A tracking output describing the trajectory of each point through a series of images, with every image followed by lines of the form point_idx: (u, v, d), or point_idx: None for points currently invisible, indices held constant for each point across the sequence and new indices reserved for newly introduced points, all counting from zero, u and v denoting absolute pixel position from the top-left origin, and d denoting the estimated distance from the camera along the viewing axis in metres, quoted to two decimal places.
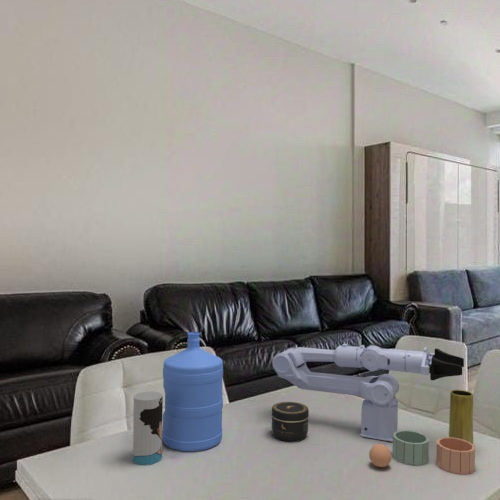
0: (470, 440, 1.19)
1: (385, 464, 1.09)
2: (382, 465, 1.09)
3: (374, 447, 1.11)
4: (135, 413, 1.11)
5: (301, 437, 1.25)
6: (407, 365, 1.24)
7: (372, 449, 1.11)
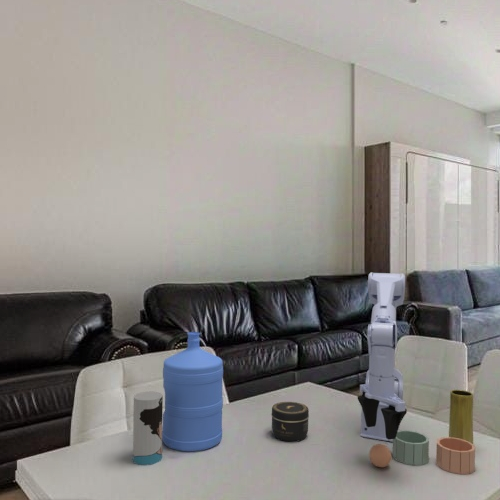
0: (470, 440, 1.19)
1: (385, 464, 1.09)
2: (382, 465, 1.09)
3: (374, 447, 1.11)
4: (135, 413, 1.11)
5: (301, 437, 1.25)
6: None
7: (372, 449, 1.11)
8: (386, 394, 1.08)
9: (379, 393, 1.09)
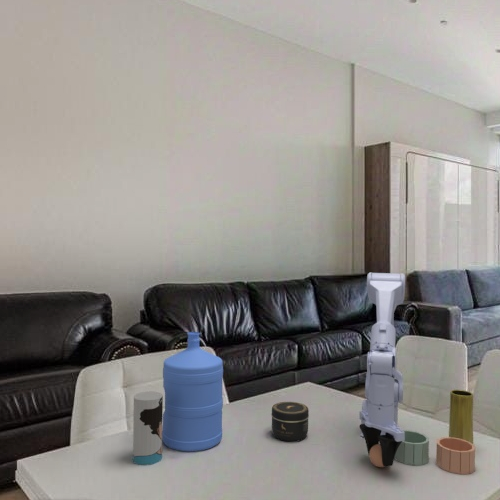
0: (470, 440, 1.19)
1: None
2: (382, 465, 1.09)
3: (374, 447, 1.11)
4: (135, 413, 1.11)
5: (301, 437, 1.25)
6: None
7: (372, 449, 1.11)
8: (385, 423, 1.08)
9: (378, 422, 1.09)
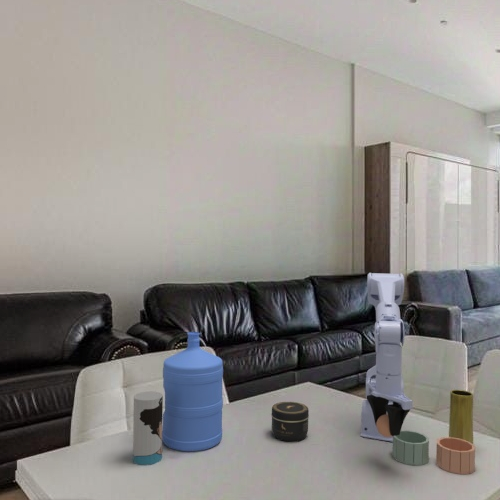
0: (470, 440, 1.19)
1: None
2: (389, 435, 1.09)
3: (381, 417, 1.11)
4: (135, 413, 1.11)
5: (301, 437, 1.25)
6: None
7: (379, 419, 1.11)
8: (393, 392, 1.08)
9: (385, 392, 1.09)
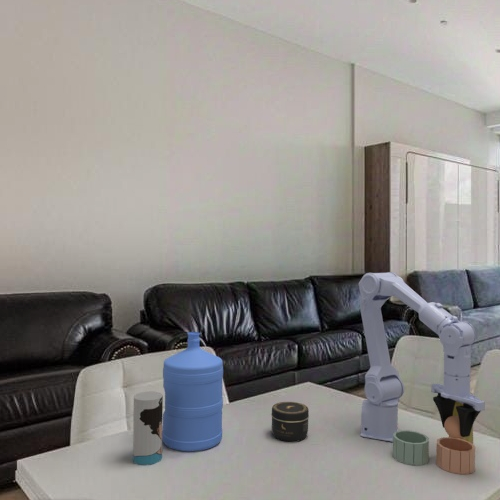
0: (470, 440, 1.19)
1: None
2: (459, 436, 1.10)
3: (450, 418, 1.12)
4: (135, 413, 1.11)
5: (301, 437, 1.25)
6: None
7: (448, 420, 1.12)
8: (463, 394, 1.09)
9: (456, 393, 1.09)
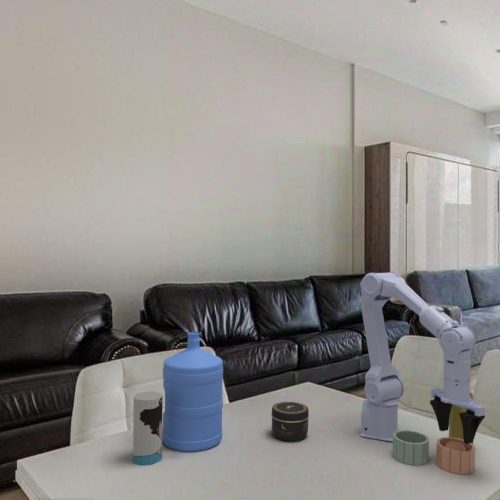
0: None
1: None
2: None
3: (449, 444, 1.12)
4: (135, 413, 1.11)
5: (301, 437, 1.25)
6: None
7: (447, 446, 1.12)
8: (463, 399, 1.09)
9: (455, 398, 1.09)
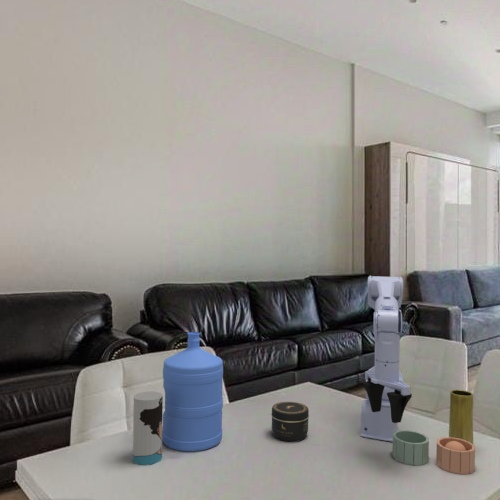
0: (470, 440, 1.19)
1: None
2: None
3: (449, 444, 1.12)
4: (135, 413, 1.11)
5: (301, 437, 1.25)
6: None
7: (447, 446, 1.12)
8: (391, 379, 1.12)
9: (384, 379, 1.12)
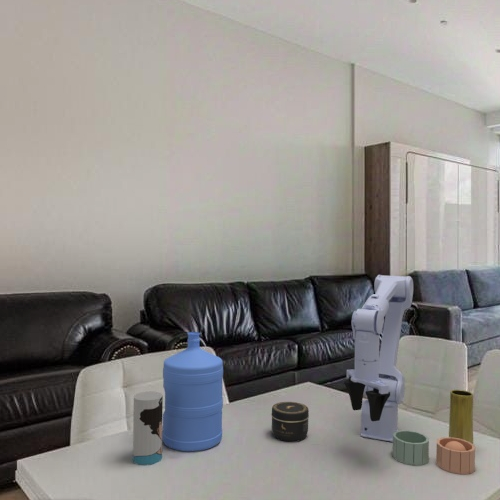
0: (470, 440, 1.19)
1: None
2: None
3: (449, 444, 1.12)
4: (135, 413, 1.11)
5: (301, 437, 1.25)
6: None
7: (447, 446, 1.12)
8: (371, 378, 1.13)
9: (363, 377, 1.13)
